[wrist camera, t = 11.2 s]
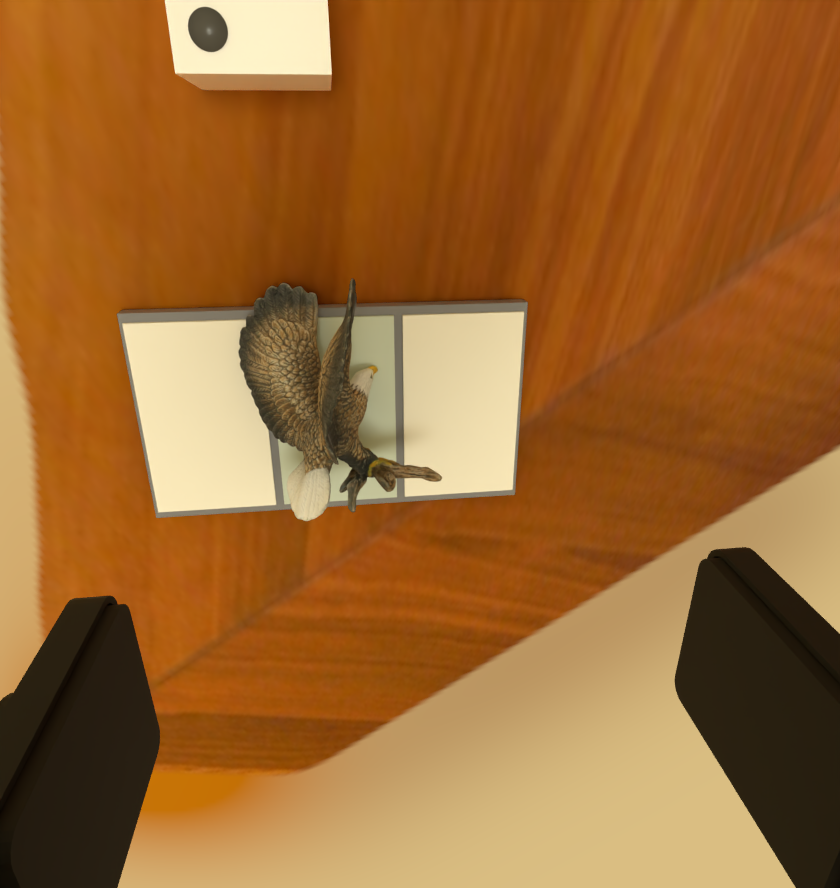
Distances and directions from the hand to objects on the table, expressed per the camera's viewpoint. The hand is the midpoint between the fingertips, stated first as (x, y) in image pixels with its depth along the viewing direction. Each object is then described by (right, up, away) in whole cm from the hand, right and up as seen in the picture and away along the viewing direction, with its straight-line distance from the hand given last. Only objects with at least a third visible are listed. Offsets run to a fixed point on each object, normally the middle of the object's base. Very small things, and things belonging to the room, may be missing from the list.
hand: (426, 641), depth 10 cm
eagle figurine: (-4, +6, +19) cm, 20 cm away
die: (-6, +20, +14) cm, 25 cm away
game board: (-4, +5, +20) cm, 21 cm away
